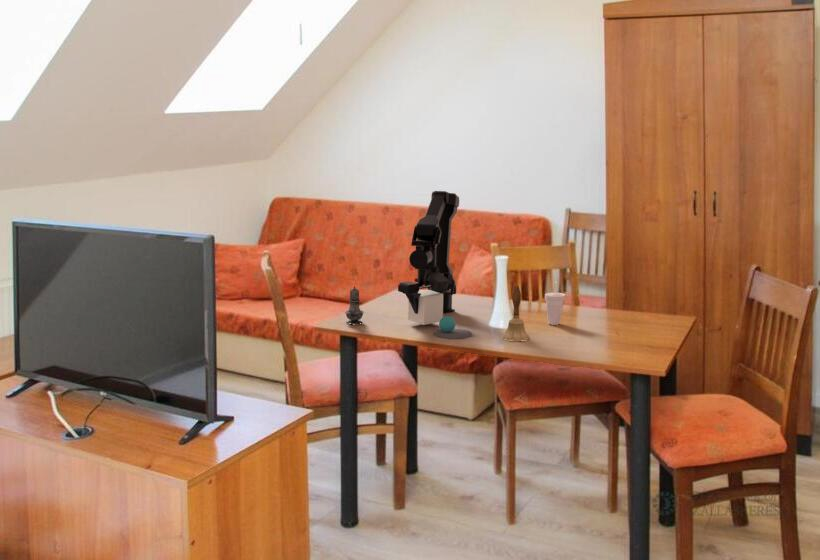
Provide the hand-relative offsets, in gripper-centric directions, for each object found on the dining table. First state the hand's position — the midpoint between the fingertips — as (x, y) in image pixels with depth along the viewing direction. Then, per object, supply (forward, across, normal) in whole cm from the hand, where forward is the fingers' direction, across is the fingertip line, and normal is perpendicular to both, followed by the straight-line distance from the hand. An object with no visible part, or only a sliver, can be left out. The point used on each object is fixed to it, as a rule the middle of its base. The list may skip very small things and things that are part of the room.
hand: (426, 311), depth 305 cm
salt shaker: (+5, -16, +16) cm, 23 cm away
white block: (+3, 0, 0) cm, 3 cm away
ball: (+2, 0, -10) cm, 10 cm away
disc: (+4, 0, -13) cm, 14 cm away
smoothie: (+5, +34, -23) cm, 41 cm away
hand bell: (+5, +12, -28) cm, 31 cm away
